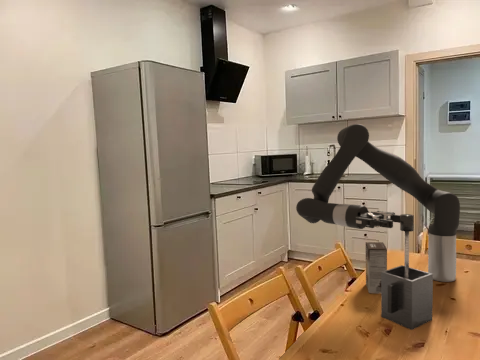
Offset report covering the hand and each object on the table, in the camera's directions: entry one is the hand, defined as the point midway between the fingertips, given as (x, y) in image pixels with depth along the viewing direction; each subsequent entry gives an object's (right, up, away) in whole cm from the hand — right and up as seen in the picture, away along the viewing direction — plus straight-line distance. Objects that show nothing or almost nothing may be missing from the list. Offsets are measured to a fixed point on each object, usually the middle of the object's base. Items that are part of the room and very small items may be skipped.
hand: (399, 222), depth 111 cm
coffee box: (+2, -27, +24) cm, 36 cm away
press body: (+1, -29, 0) cm, 29 cm away
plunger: (+2, -19, 0) cm, 19 cm away
